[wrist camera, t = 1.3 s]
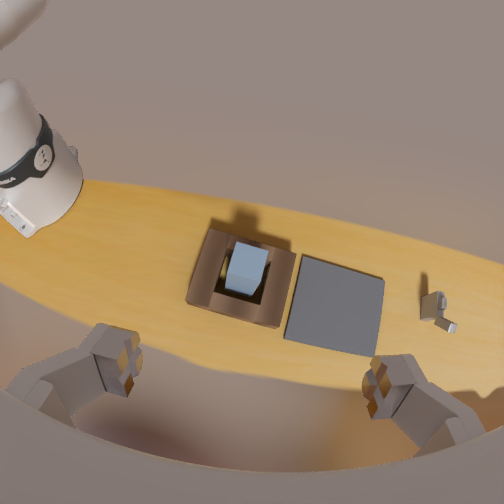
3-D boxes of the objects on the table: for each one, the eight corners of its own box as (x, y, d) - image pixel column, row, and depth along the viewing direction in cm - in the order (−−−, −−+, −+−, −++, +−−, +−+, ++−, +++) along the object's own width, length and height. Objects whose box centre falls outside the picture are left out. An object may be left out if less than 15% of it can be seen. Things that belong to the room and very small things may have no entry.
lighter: (421, 296, 41) (452, 284, 34) (428, 298, 41) (459, 286, 34) (418, 337, 38) (450, 331, 31) (425, 338, 39) (457, 333, 31)
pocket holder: (187, 303, 36) (185, 299, 34) (209, 237, 40) (209, 228, 37) (274, 328, 37) (279, 326, 34) (290, 260, 40) (296, 253, 37)
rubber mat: (283, 338, 36) (284, 338, 36) (302, 257, 41) (303, 255, 40) (371, 357, 37) (374, 357, 36) (383, 281, 41) (385, 280, 40)
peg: (224, 290, 38) (227, 272, 29) (231, 266, 39) (236, 241, 31) (250, 298, 38) (260, 282, 29) (257, 273, 39) (268, 250, 31)
